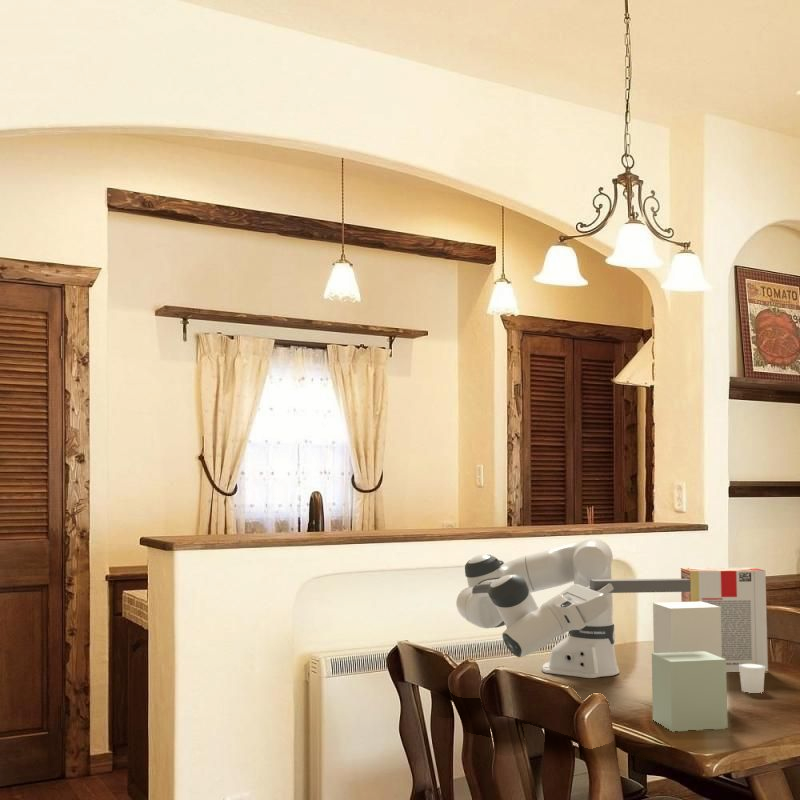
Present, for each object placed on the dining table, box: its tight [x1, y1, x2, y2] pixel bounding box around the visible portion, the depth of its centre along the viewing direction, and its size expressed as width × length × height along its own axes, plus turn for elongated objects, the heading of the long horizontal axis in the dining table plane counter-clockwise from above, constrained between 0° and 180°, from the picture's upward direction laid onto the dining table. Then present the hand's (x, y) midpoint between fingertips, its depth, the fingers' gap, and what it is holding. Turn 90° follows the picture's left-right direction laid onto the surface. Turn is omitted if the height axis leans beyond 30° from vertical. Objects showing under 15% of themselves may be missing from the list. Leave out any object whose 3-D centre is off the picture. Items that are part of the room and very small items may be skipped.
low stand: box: [651, 651, 728, 733], centre depth 228 cm, size 14×10×16 cm
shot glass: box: [739, 663, 766, 694], centre depth 261 cm, size 7×7×7 cm
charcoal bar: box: [590, 578, 691, 594], centre depth 244 cm, size 26×3×3 cm, turn 100°
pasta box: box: [680, 567, 769, 672], centre depth 289 cm, size 23×8×30 cm, turn 93°
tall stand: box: [652, 601, 722, 658], centre depth 250 cm, size 14×10×25 cm
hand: (608, 584), depth 243 cm, fingers closed on charcoal bar, 3 cm apart
